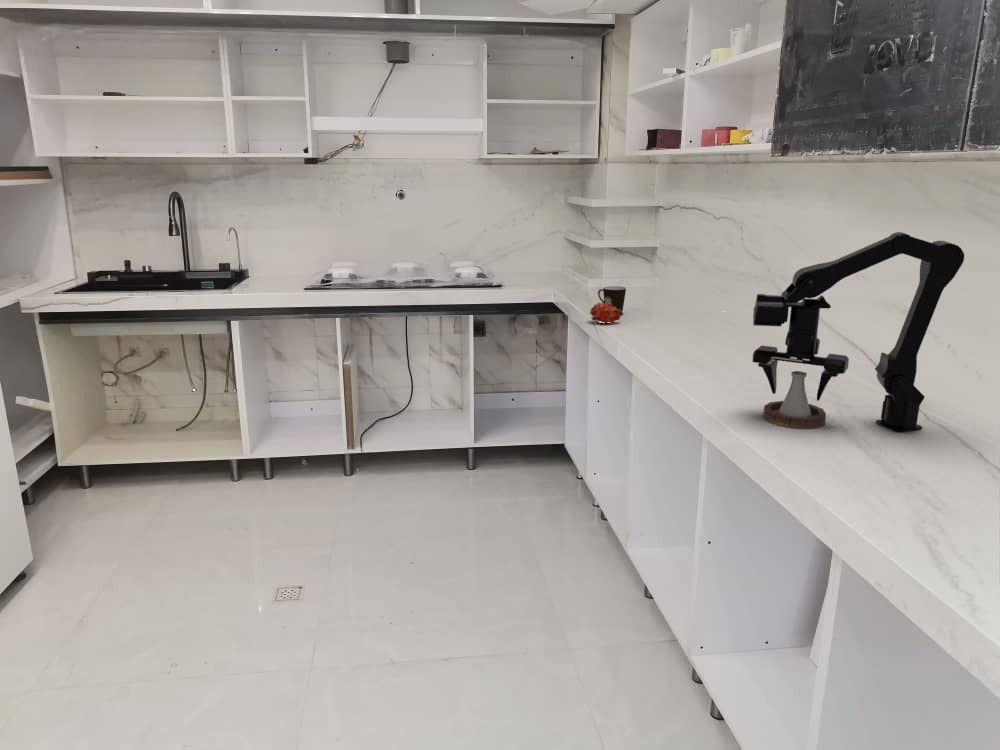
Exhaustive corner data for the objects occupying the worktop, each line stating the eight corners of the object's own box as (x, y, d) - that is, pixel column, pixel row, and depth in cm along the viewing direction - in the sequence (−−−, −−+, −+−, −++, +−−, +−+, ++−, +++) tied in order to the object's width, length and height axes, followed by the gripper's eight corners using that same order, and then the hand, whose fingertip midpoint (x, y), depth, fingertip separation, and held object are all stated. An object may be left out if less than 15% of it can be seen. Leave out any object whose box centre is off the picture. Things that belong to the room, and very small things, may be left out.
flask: (784, 408, 166) (788, 366, 163) (816, 415, 161) (821, 372, 158) (771, 416, 161) (776, 373, 158) (804, 424, 156) (810, 379, 153)
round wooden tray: (838, 425, 157) (840, 415, 156) (787, 431, 153) (788, 422, 153) (798, 406, 169) (799, 398, 168) (750, 412, 165) (751, 403, 165)
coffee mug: (628, 315, 273) (630, 289, 270) (607, 317, 271) (608, 290, 268) (616, 309, 284) (617, 284, 281) (595, 311, 281) (596, 285, 279)
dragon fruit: (586, 327, 261) (619, 332, 261) (590, 317, 253) (624, 322, 253) (589, 306, 264) (621, 310, 264) (592, 295, 256) (626, 300, 256)
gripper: (856, 325, 157) (848, 394, 161) (767, 316, 167) (761, 381, 171) (848, 335, 148) (839, 407, 152) (755, 325, 158) (748, 393, 162)
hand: (795, 396), depth 160 cm, fingers open, 9 cm apart
